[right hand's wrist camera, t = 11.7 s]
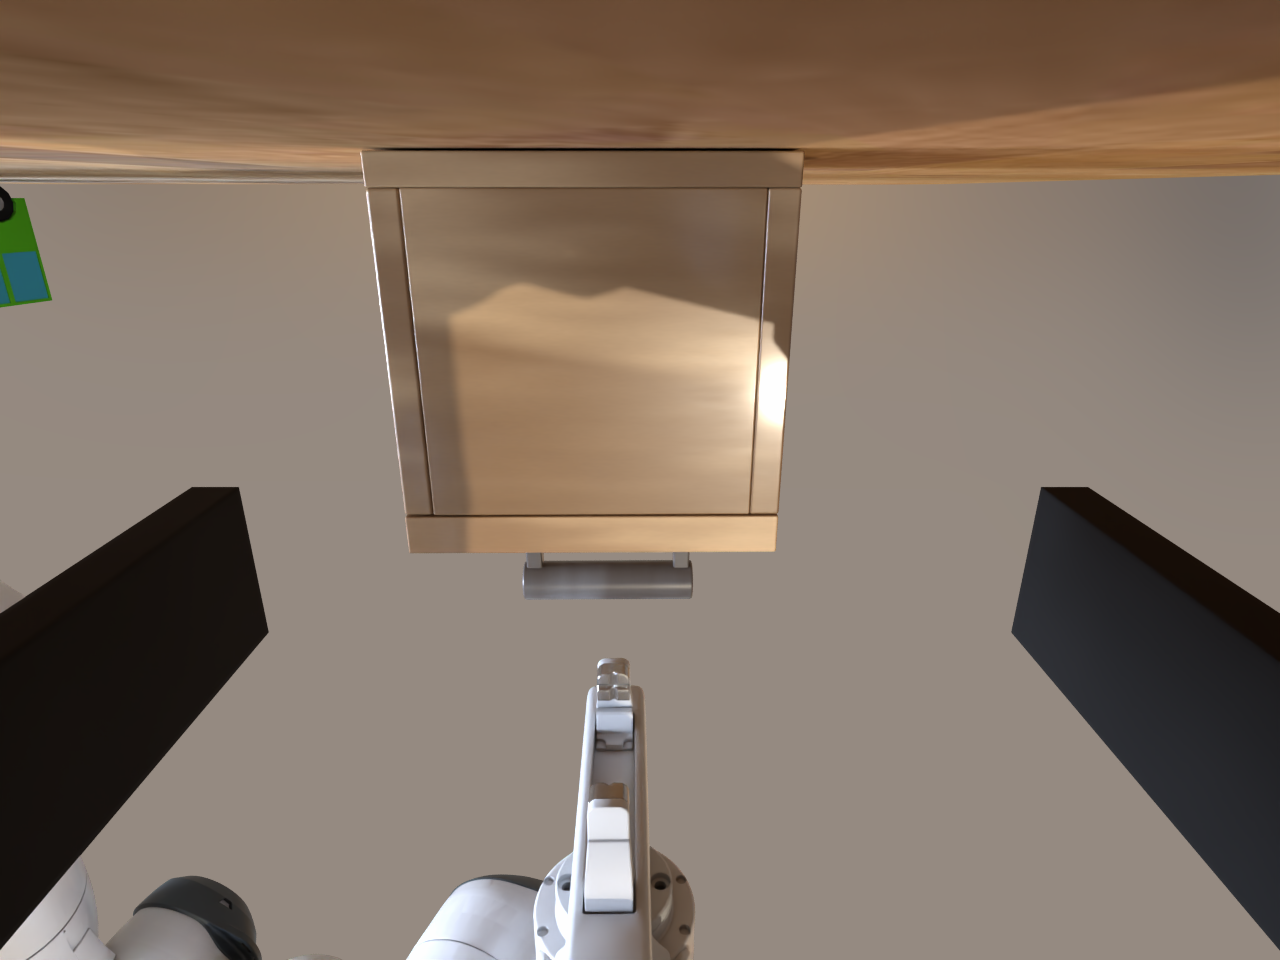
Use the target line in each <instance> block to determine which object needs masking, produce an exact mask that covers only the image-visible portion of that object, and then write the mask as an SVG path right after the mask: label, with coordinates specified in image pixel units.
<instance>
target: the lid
mask: <svg viewBox="0 0 1280 960" xmlns="http://www.w3.org/2000/svg"><path fill="white" fill-rule="evenodd" d="M405 521H406V529H407V538H408V545H409V552H410V553H526V562H525V564H524V569H523V594H524V597H525V599H690V598H691V597H692V592H693V572H692V563H691V561H690V560H689V552H774V551H775V550H776V539H777V525H778V516H777V513H776V514H752V513H750V512H749V514H567V515H434V513H433V514H408V515H407V516H406V518H405ZM559 552H560V553H562V552H563V553H565V552H673V560H629V561H544V553H559Z"/></svg>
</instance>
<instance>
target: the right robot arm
mask: <svg viewBox="0 0 1280 960" xmlns="http://www.w3.org/2000/svg"><path fill="white" fill-rule="evenodd" d="M267 634H268V627H267V622H266V617H265V612H264V607H263V603H262V598H261V593H260V588H259V583H258V578H257V573H256V569H255V564H254V559H253V554H252V549H251V544H250V539H249V535H248V530H247V525H246V520H245V515H244V510H243V505H242V501H241V496H240V491H239V487H191V488H190V489H188V490H187V491H185V492H184V493H182V494H181V495H179V496H178V497H176V498H175V499H173V500H172V501H170V502H169V503H167V504H166V505H164V506H163V507H161V508H160V509H158V510H157V511H155V512H153V513H152V514H151V515H149V516H147V517H146V518H144V519H143V520H141V521H140V522H138V523H137V524H135V525H134V526H132V527H131V528H129V529H128V530H126V531H125V532H123V533H122V534H120V535H119V536H117V537H115V538H114V539H112V540H111V541H109V542H108V543H106V544H105V545H103V546H102V547H100V548H99V549H97V550H96V551H94V552H93V553H91V554H90V555H88V556H87V557H85V558H84V559H82V560H81V561H79V562H78V563H76V564H74V565H73V566H71V567H70V568H68V569H67V570H65V571H64V572H62V573H61V574H59V575H58V576H56V577H55V578H53V579H52V580H50V581H49V582H47V583H46V584H44V585H43V586H41V587H40V588H38V589H37V590H35V591H34V592H32V593H30V594H29V595H27V596H26V597H24V598H23V599H21V600H20V601H18V602H17V603H15V604H14V605H12V606H11V607H9V608H8V609H6V610H5V611H3V612H1V613H0V950H1V949H2V948H3V946H4V945H5V944H6V943H7V942H8V941H9V939H10V938H11V937H12V936H13V935H14V933H15V932H16V931H17V930H18V929H19V927H20V926H21V925H22V924H23V923H24V922H25V920H26V919H27V918H28V917H29V916H30V914H31V913H32V912H33V911H34V910H35V909H36V907H37V906H38V905H39V904H40V903H41V901H42V900H43V899H44V898H45V897H46V895H47V894H48V893H49V892H50V891H51V890H52V888H53V887H54V886H55V885H56V884H57V882H58V881H59V880H60V879H61V878H62V877H63V875H64V874H65V873H66V872H67V871H68V869H69V868H70V867H71V866H72V865H73V863H74V862H75V861H76V860H77V859H78V858H79V856H80V855H81V854H82V853H83V852H84V850H85V849H86V848H87V847H88V846H89V844H90V843H91V842H92V841H93V840H94V839H95V837H96V836H97V835H98V834H99V833H100V832H101V830H102V829H103V828H104V827H105V825H106V824H107V823H108V822H109V821H110V820H111V818H112V817H113V816H114V815H115V814H116V812H117V811H118V810H119V809H120V808H121V807H122V805H123V804H124V803H125V802H126V801H127V800H128V798H129V797H130V796H131V795H132V794H133V792H134V791H135V790H136V789H137V788H138V786H139V785H140V784H141V783H142V782H143V781H144V779H145V778H146V777H147V776H148V775H149V773H150V772H151V771H152V770H153V769H154V768H155V766H156V765H157V764H158V763H159V762H160V760H161V759H162V758H163V757H164V756H165V754H166V753H167V752H168V751H169V750H170V749H171V747H172V746H173V745H174V744H175V743H176V741H177V740H178V739H179V738H180V737H181V736H182V734H183V733H184V732H185V731H186V730H187V728H188V727H189V726H190V725H191V724H192V723H193V721H194V720H195V719H196V718H197V717H198V715H199V714H200V713H201V712H202V711H203V709H204V708H205V707H206V706H207V705H208V704H209V702H210V701H211V700H212V699H213V698H214V696H215V695H216V694H217V693H218V692H219V690H220V689H221V688H222V687H223V686H224V685H225V683H226V682H227V681H228V680H229V679H230V677H231V676H232V675H233V674H234V673H235V672H236V670H237V669H238V668H239V667H240V666H241V664H242V663H243V662H244V661H245V660H246V659H247V657H248V656H249V655H250V654H251V653H252V651H253V650H254V649H255V648H256V647H257V645H258V644H259V643H260V642H261V641H262V640H263V638H264V637H265V636H266V635H267ZM1012 634H1013V635H1014V636H1015V637H1016V638H1017V640H1018V641H1019V642H1020V643H1021V644H1022V645H1023V647H1024V648H1025V649H1026V650H1027V651H1028V653H1029V654H1030V655H1031V656H1032V657H1033V659H1034V660H1035V661H1036V662H1037V663H1038V664H1039V666H1040V667H1041V668H1042V669H1043V670H1044V672H1045V673H1046V674H1047V675H1048V676H1049V677H1050V679H1051V680H1052V681H1053V682H1054V683H1055V685H1056V686H1057V687H1058V688H1059V689H1060V690H1061V692H1062V693H1063V694H1064V695H1065V696H1066V698H1067V699H1068V700H1069V701H1070V702H1071V704H1072V705H1073V706H1074V707H1075V708H1076V709H1077V711H1078V712H1079V713H1080V714H1081V715H1082V717H1083V718H1084V719H1085V720H1086V721H1087V722H1088V724H1089V725H1090V726H1091V727H1092V728H1093V730H1094V731H1095V732H1096V733H1097V734H1098V736H1099V737H1100V738H1101V739H1102V740H1103V741H1104V743H1105V744H1106V745H1107V746H1108V747H1109V749H1110V750H1111V751H1112V752H1113V753H1114V754H1115V756H1116V757H1117V758H1118V759H1119V760H1120V762H1121V763H1122V764H1123V765H1124V766H1125V768H1126V769H1127V770H1128V771H1129V772H1130V773H1131V775H1132V776H1133V777H1134V778H1135V779H1136V781H1137V782H1138V783H1139V784H1140V785H1141V786H1142V788H1143V789H1144V790H1145V791H1146V792H1147V794H1148V795H1149V796H1150V797H1151V798H1152V799H1153V801H1154V802H1155V803H1156V804H1157V805H1158V807H1159V808H1160V809H1161V810H1162V811H1163V813H1164V814H1165V815H1166V816H1167V817H1168V818H1169V820H1170V821H1171V822H1172V823H1173V824H1174V826H1175V827H1176V828H1177V829H1178V830H1179V832H1180V833H1181V834H1182V835H1183V836H1184V837H1185V839H1186V840H1187V841H1188V842H1189V843H1190V845H1191V846H1192V847H1193V848H1194V849H1195V850H1196V852H1197V853H1198V854H1199V855H1200V856H1201V858H1202V859H1203V860H1204V861H1205V862H1206V863H1207V865H1208V866H1209V867H1210V868H1211V869H1212V871H1213V872H1214V873H1215V874H1216V875H1217V876H1218V878H1219V879H1220V880H1221V881H1222V882H1223V884H1224V885H1225V886H1226V887H1227V888H1228V890H1229V891H1230V892H1231V893H1232V894H1233V895H1234V897H1235V898H1236V899H1237V900H1238V901H1239V903H1240V904H1241V905H1242V906H1243V907H1244V908H1245V910H1246V911H1247V912H1248V913H1249V914H1250V916H1251V917H1252V918H1253V919H1254V920H1255V922H1256V923H1257V924H1258V925H1259V926H1260V927H1261V929H1262V930H1263V931H1264V932H1265V933H1266V935H1267V936H1268V937H1269V938H1270V939H1271V940H1272V942H1273V943H1274V944H1275V945H1276V946H1277V948H1278V949H1279V950H1280V613H1278V612H1277V611H1275V610H1274V609H1272V608H1271V607H1269V606H1268V605H1266V604H1265V603H1263V602H1262V601H1260V600H1259V599H1257V598H1256V597H1254V596H1253V595H1251V594H1250V593H1248V592H1247V591H1245V590H1244V589H1242V588H1241V587H1239V586H1237V585H1236V584H1234V583H1233V582H1231V581H1230V580H1228V579H1227V578H1225V577H1224V576H1222V575H1221V574H1219V573H1218V572H1216V571H1215V570H1213V569H1212V568H1210V567H1209V566H1207V565H1206V564H1204V563H1203V562H1201V561H1199V560H1198V559H1196V558H1195V557H1193V556H1192V555H1190V554H1189V553H1187V552H1186V551H1184V550H1183V549H1181V548H1180V547H1178V546H1177V545H1175V544H1174V543H1172V542H1171V541H1169V540H1168V539H1166V538H1165V537H1163V536H1161V535H1160V534H1158V533H1157V532H1155V531H1154V530H1152V529H1151V528H1149V527H1148V526H1146V525H1145V524H1143V523H1142V522H1140V521H1139V520H1137V519H1136V518H1134V517H1133V516H1131V515H1130V514H1128V513H1127V512H1125V511H1124V510H1122V509H1120V508H1119V507H1117V506H1116V505H1114V504H1113V503H1111V502H1110V501H1108V500H1107V499H1105V498H1104V497H1102V496H1101V495H1099V494H1098V493H1096V492H1095V491H1093V490H1092V489H1090V488H1088V487H1041V491H1040V496H1039V501H1038V505H1037V510H1036V515H1035V520H1034V525H1033V530H1032V535H1031V539H1030V544H1029V549H1028V554H1027V559H1026V564H1025V569H1024V573H1023V578H1022V583H1021V588H1020V593H1019V598H1018V603H1017V607H1016V612H1015V617H1014V622H1013V627H1012Z"/></svg>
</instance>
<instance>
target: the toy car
mask: <svg viewBox="0 0 1280 960" xmlns="http://www.w3.org/2000/svg"><path fill="white" fill-rule="evenodd" d="M50 300H52V298H51V294H50V290H49V287H48V283H47V279H46V276H45V272H44V268H43V265H42V261H41V257H40V254H39V250H38V247H37V243H36V239H35V236H34V232H33V228H32V225H31V221H30V217H29V214H28V210H27V206H26V203H25V199H24V198H11V197H10V195H9V194H8V193H7V192H6V191H5V190H4V189H3V188H2V187H0V307H7V306H14V305H21V304H28V303H35V302H43V301H50Z"/></svg>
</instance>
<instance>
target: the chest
mask: <svg viewBox="0 0 1280 960" xmlns="http://www.w3.org/2000/svg"><path fill="white" fill-rule="evenodd" d="M361 161H362V169H363V177H364V185H365V187H367V188H368V189H367V190H366V197H367V205H368V213H369V222H370V230H371V238H372V246H373V254H374V262H375V271H376V279H377V287H378V295H379V304H380V312H381V320H382V328H383V336H384V345H385V353H386V361H387V369H388V377H389V386H390V394H391V402H392V410H393V418H394V427H395V435H396V443H397V451H398V459H399V467H400V476H401V484H402V492H403V500H404V509H405V513H406V514H433V513H434V515H567V514H749V512H750V513H752V514H776V513H778V510H779V496H780V482H781V469H782V455H783V441H784V427H785V413H786V400H787V386H788V371H789V358H790V344H791V331H792V317H793V303H794V289H795V275H796V262H797V247H798V234H799V220H800V206H801V193H802V190H801V188H800V187H802V180H803V166H804V151H361Z"/></svg>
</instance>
